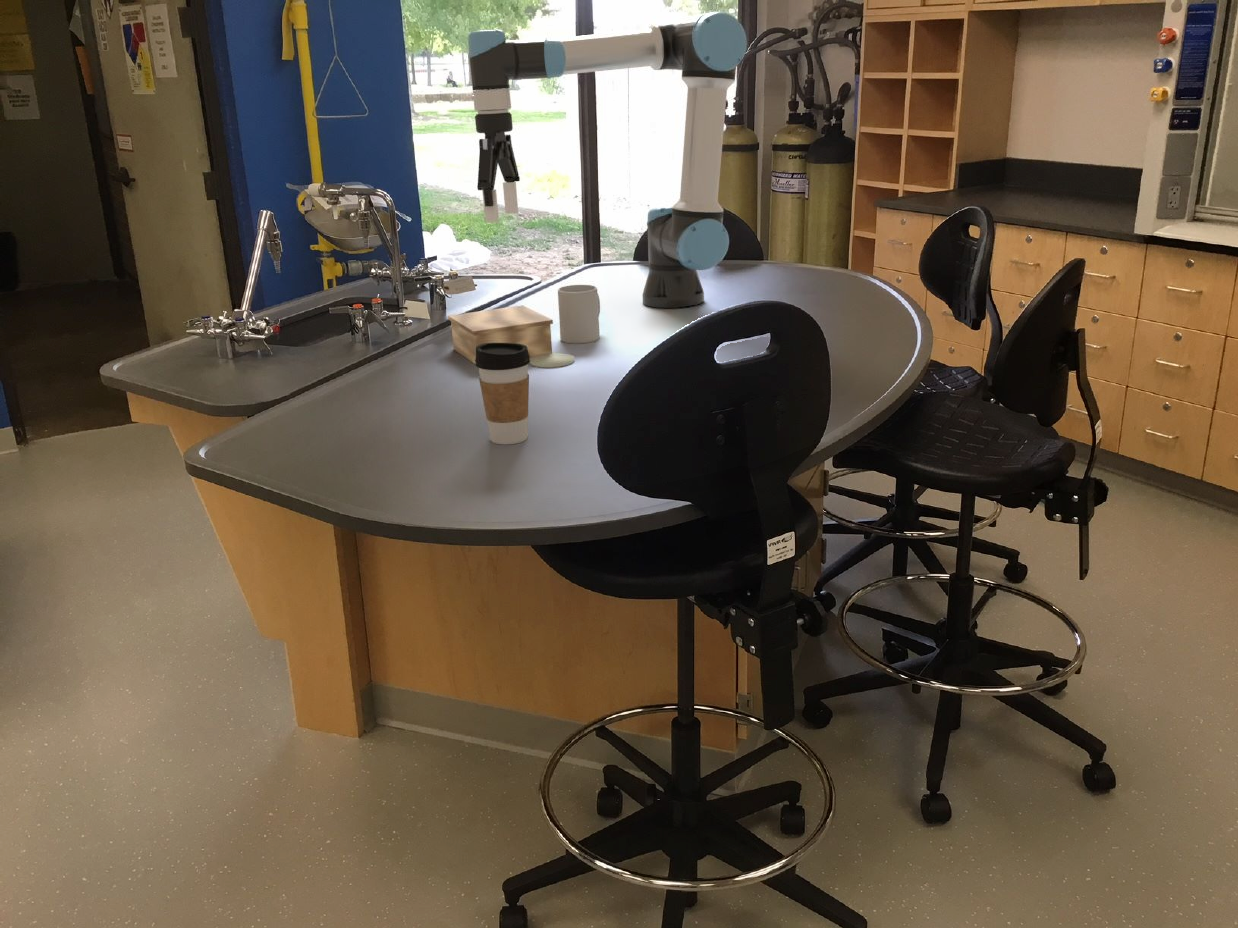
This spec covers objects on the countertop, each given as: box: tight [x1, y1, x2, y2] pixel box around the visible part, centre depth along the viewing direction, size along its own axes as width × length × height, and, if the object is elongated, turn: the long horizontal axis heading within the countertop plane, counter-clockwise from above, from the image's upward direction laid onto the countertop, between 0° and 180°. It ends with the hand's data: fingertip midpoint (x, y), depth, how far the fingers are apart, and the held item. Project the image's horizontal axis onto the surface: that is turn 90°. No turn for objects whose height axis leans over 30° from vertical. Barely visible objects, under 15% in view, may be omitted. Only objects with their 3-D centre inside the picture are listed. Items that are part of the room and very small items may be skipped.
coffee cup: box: [475, 343, 531, 446], centre depth 157 cm, size 8×8×15 cm
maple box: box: [447, 305, 554, 365], centre depth 210 cm, size 17×17×7 cm
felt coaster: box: [529, 352, 575, 369], centre depth 202 cm, size 9×9×1 cm
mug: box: [557, 284, 601, 345], centre depth 218 cm, size 12×8×11 cm
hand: (502, 217), depth 215 cm, fingers open, 13 cm apart
